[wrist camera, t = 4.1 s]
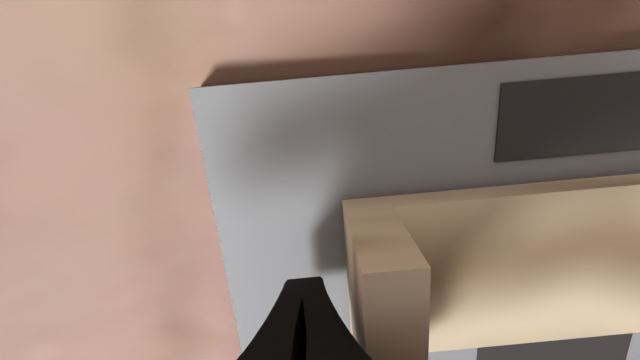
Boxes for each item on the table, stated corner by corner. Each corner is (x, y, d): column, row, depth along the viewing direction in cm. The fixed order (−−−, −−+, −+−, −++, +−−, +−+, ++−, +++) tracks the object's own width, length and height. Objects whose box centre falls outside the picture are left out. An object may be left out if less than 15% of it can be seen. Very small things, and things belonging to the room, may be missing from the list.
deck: (911, 329, 17) (957, 349, 16) (257, 391, 17) (253, 416, 16) (1102, 8, 13) (1190, 2, 11) (199, 86, 12) (187, 88, 11)
